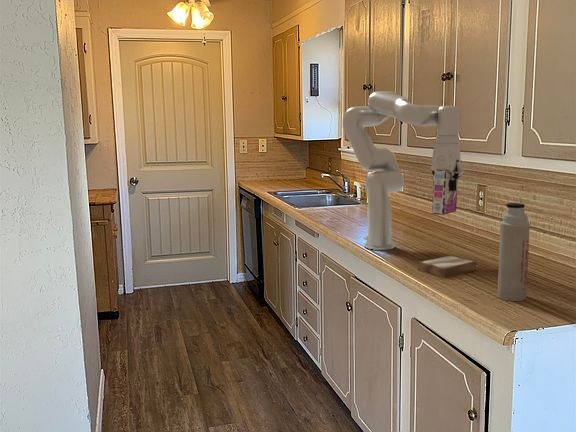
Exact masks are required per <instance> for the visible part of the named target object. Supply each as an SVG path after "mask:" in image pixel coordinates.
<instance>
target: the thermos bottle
mask: <svg viewBox="0 0 576 432" xmlns="http://www.w3.org/2000/svg"><path fill="white" fill-rule="evenodd" d="M525 206H526V205H525V203H521V202H519V203H518V202H509V203H506V205H505V207H506V211H505V213H503V215H502V221H500V223H499V245H498V246H499V247H498V250H499V251H498V273H497V297H498V298H499V299H502V300H505V301H511V302H521V301H525V300H526V299H527V290H528V287H527V286H528V268H529V252H530V251H529V248H530V247H529V246H530V230H531V229H530V227H531V225H530V222H528V219H529V218H528V215H527V214H526V213H525Z"/></svg>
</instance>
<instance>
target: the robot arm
mask: <svg viewBox="0 0 576 432" xmlns="http://www.w3.org/2000/svg"><path fill="white" fill-rule="evenodd" d="M367 105H368V106H367ZM367 105H363V106H361V105H360V106H352V107H350V108H348V109H347V110H346V111H345V113H344V115H343V118H342V129H343V132H344V134H345V136H346V138H347V140H348V141H349V143H350V145H351V147H352V150H353V152H354V154H355V156H356V159H357V161H358V163H359V165H360V167H361V169H362V170H363V171H365V172H372V173H370V174H369V175H368V176H367V177H366V179H365V183H364V184H365V191H366V195H367V197H366V198H367V234H365V236H363V240H366V242H365V243H364V244H363V245H364V248H365V247H366V248H365V249H367V248H368V249H367V250H371V249H373V250H372V251H386V250H387V251H389V250H392V249H394V248H395V247H396V245H395V243H394V242H392V203H391V199H390V196H389V195H388V194H394V193H397V192H401V190H402V189H403V188H404V185H405V178H404V175H403V173H402V170H401V169H400V165H399V164H398V161H397V159H396V157H395V155H394V153H393V152H392V151H391V150H390V149H389V148H386V147H377V146H375V144H374V143H373V140H372V138H371V136H370V135H369V133H368V132H367V131H366V130H365V129H364V128H367V127H377V126H379V125H381V124H383V123H384V122H385V121H387V119H389V118H390V117H391V118H395V119H397V120H398V121H399V122H402V123H404V124H407V125H410V126H415V127H437V128H436V129H437V130H436V137H435V140H436V143H435V144H434V147H433V150H432V159H431V165H430V166H429V168H428V169H429V170H430V172H431V173H432V176H434V170H435V169H445V170H448V173H450V178H451V180H450V181H449V191H456V186H457V180H458V181H459V178H460V177H461V176H462V175H463V174H464V173H465V170H464V168H463V167H462V165H461V148H460V144H459V135H460V133H459V131H460V107H459V106H456V105H442V106H441V105H426V104H425V105H419V104H415V103H414V104H413V103H411V102H409V99H408V98H407V97H405V96H401V95H399V94H398V93H397V92H395V91H390V90H387V91H385V90H384V91H383V90H382V91H381V90H379V91H378V90H377V91H374V92H372V93H371V94H370V95H369V97H368V99H367ZM453 174H454V175H453ZM457 187H458V186H457Z"/></svg>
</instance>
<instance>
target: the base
mask: <svg viewBox="0 0 576 432" xmlns="http://www.w3.org/2000/svg"><path fill="white" fill-rule="evenodd" d="M477 263H478V262H477V261H474V260H471V259H467V258H466V259H465V258H461V257H458V256H454V255H446V256H441V257H436V258H431V259H427V260H423V261H418V264H417V265H418V266H417V267H418V269H417V270H418V272H419V271H420V272H423V273H427V274H430V275H432V276H436V277H441V278H444V279H446V278H449V277H453V276H458V275H462V274H466V273H471V272H474V271H477Z"/></svg>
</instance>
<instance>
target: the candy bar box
mask: <svg viewBox="0 0 576 432" xmlns="http://www.w3.org/2000/svg"><path fill="white" fill-rule="evenodd" d="M453 175H454V174H453ZM450 180H451V178H450V173H448V170H445V169H435V170H434V175H433V180H432V181H433V182H432V186H433V187H432V201H431V203H432V205H431V214H432V215H438V216H439V215H440V216H444V215H448V214H450V213H454V212H456V211H457V202H458V201H457V200H458V186H459V183H458V182H459V179H458V180H457V186H456V191H449V181H450Z"/></svg>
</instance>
